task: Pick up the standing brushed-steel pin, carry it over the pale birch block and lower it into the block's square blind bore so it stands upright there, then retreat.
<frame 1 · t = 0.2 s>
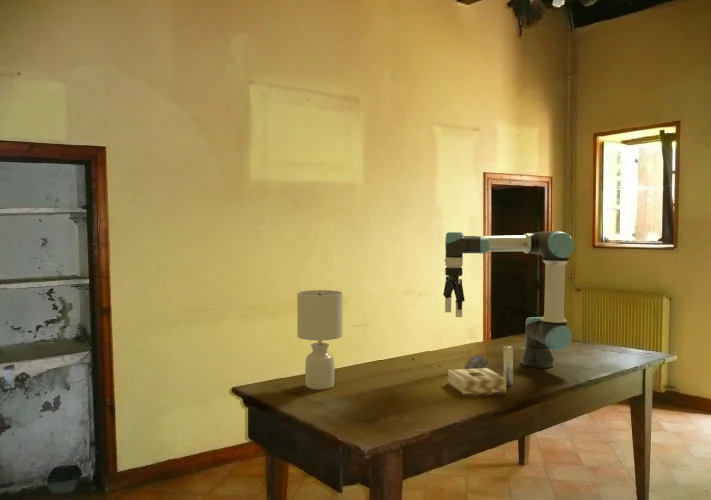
hand: (453, 314, 255), 28 cm above the table, fingers open, 13 cm apart
rock: (476, 375, 259), on the table
pin: (507, 384, 244), on the table
lamp: (319, 386, 240), on the table
bore block: (476, 388, 237), on the table
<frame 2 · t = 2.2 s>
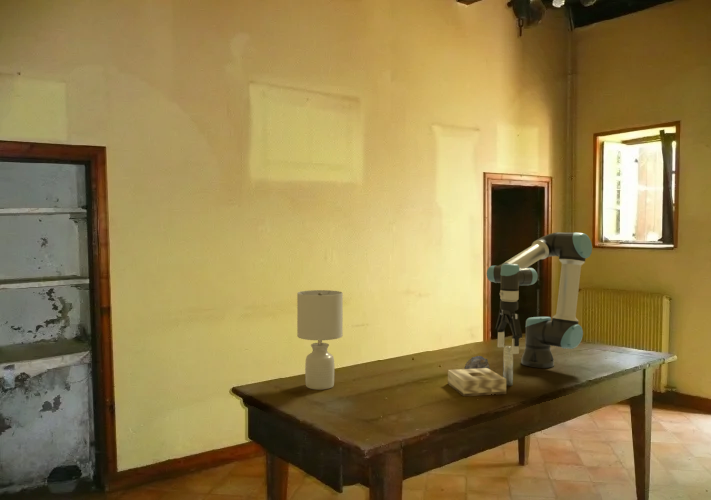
hand: (507, 350, 243), 15 cm above the table, fingers open, 13 cm apart
nothing on the table moved.
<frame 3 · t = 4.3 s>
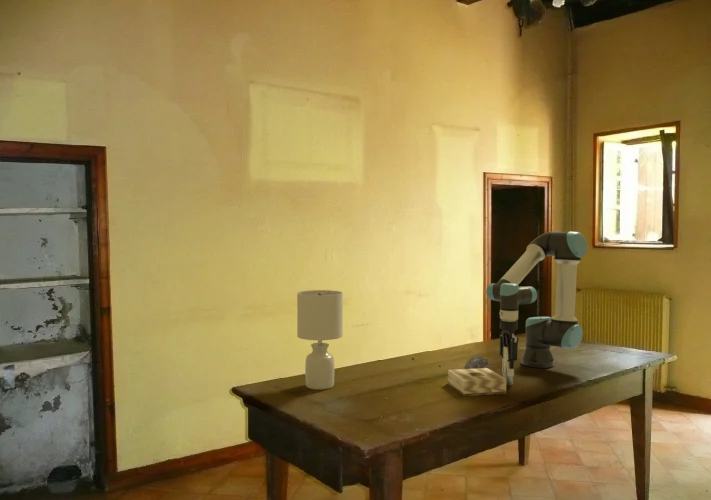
hand: (507, 374, 244), 4 cm above the table, fingers closed on pin, 4 cm apart
pin: (507, 384, 244), on the table, touching gripper
everything else where it was.
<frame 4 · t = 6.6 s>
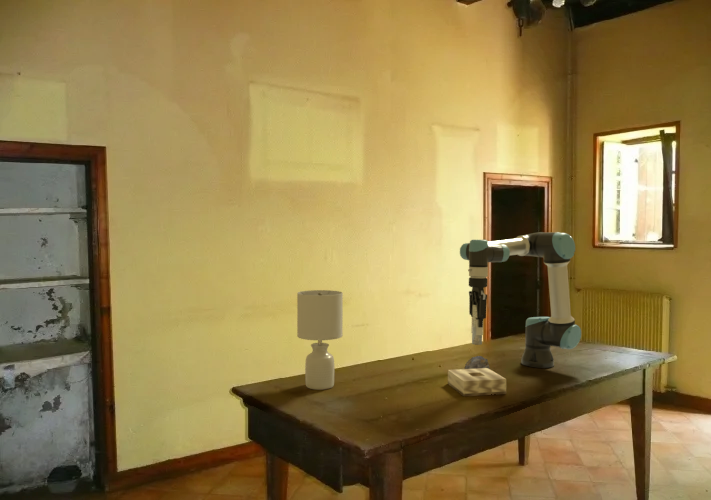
hand: (477, 333, 236), 23 cm above the table, fingers closed on pin, 4 cm apart
pin: (476, 343, 236), point 19 cm above the table, touching gripper
everything else where it was.
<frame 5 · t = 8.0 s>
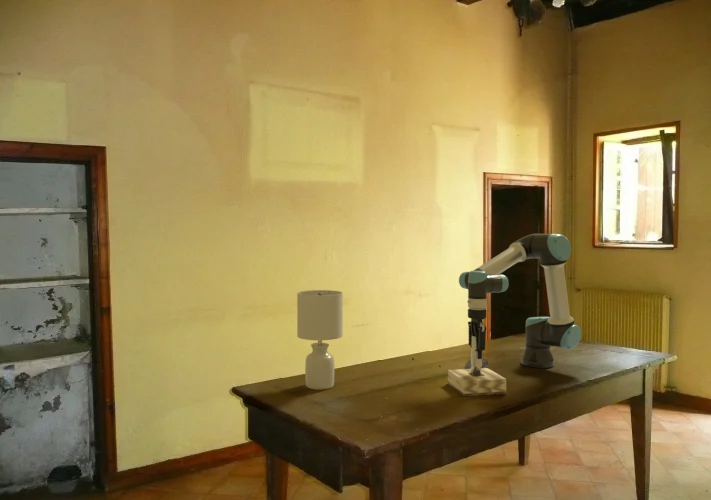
hand: (476, 364, 237), 10 cm above the table, fingers closed on pin, 4 cm apart
pin: (476, 374, 237), point 6 cm above the table, touching gripper
everything else where it was.
when the fingers open (8 cm above the table, at t = 9.0 s): pin drops 2 cm, resting on bore block.
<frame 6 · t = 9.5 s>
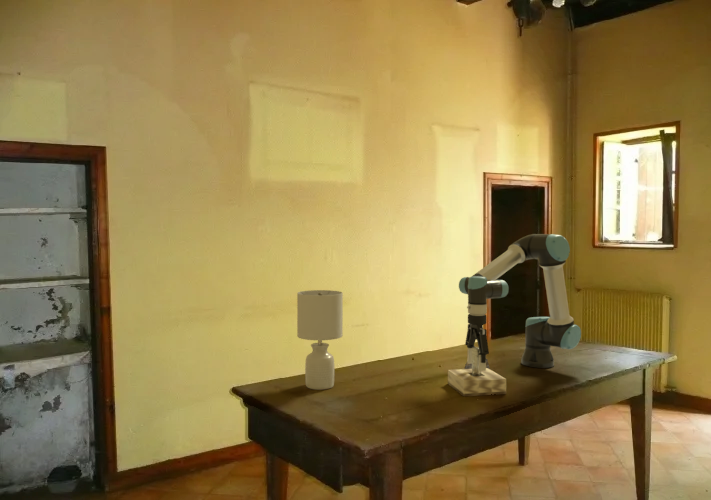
hand: (476, 366, 237), 9 cm above the table, fingers open, 11 cm apart
pin: (476, 386, 237), point 1 cm above the table, touching bore block
everything else where it was.
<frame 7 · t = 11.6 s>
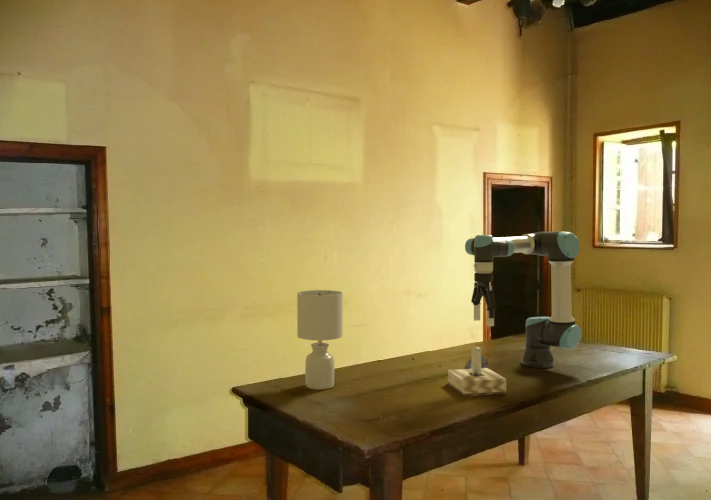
hand: (483, 323, 239), 27 cm above the table, fingers open, 13 cm apart
nothing on the table moved.
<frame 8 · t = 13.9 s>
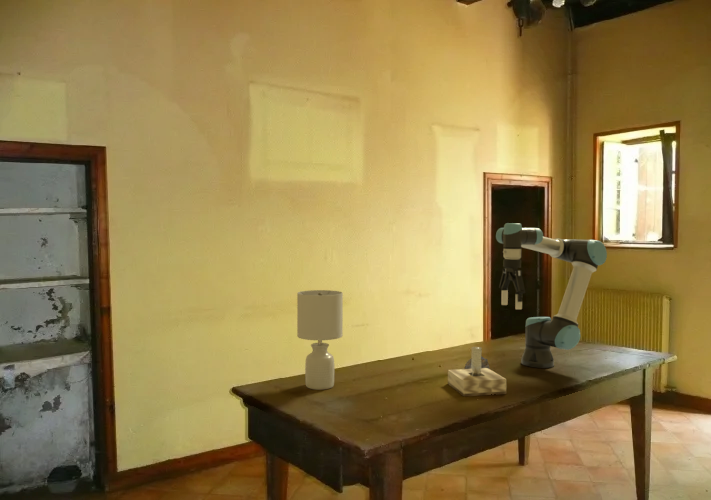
hand: (511, 307, 252), 32 cm above the table, fingers open, 13 cm apart
nothing on the table moved.
at the end: pin 0.0 cm off-centre on the bore block, point 1.0 cm above the bore block's base; pin tilted 0°; the gripper is holding nothing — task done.
